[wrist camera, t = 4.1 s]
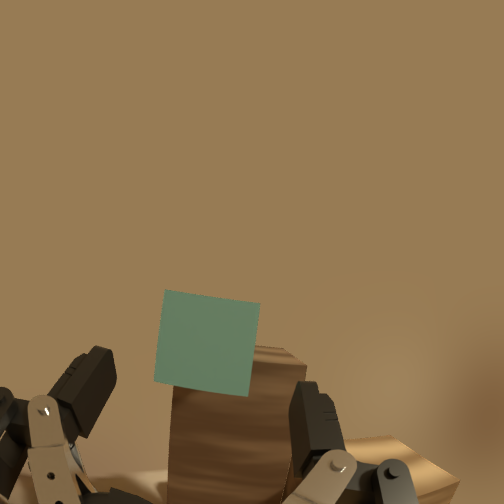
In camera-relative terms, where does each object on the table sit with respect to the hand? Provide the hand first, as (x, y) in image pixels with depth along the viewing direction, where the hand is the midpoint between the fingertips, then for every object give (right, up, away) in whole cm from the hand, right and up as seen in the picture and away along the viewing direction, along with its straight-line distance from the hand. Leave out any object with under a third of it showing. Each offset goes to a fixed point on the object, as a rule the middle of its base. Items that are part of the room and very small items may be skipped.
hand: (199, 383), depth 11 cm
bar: (-1, -3, +12) cm, 13 cm away
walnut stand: (-3, -35, +8) cm, 36 cm away
